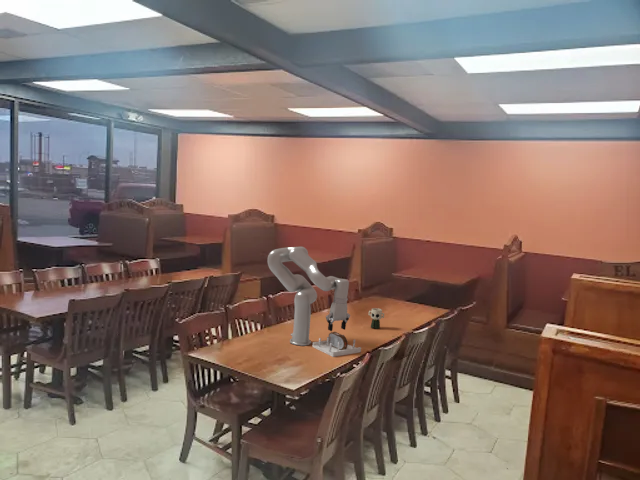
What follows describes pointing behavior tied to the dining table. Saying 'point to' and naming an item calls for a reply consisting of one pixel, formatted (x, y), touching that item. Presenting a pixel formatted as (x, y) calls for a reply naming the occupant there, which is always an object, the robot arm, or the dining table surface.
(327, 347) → the dish rack
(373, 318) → the character mug
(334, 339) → the tin
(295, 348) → the dining table surface
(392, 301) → the dining table surface
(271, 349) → the dining table surface
